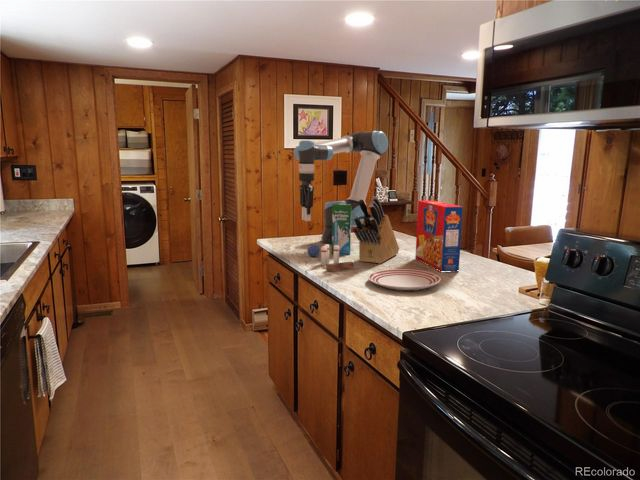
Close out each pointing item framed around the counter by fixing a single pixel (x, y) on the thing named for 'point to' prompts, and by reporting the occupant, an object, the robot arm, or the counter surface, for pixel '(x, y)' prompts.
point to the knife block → (375, 234)
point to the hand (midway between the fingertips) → (306, 220)
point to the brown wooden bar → (339, 266)
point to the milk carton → (341, 228)
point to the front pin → (327, 252)
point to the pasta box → (439, 234)
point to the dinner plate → (404, 279)
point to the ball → (313, 250)
